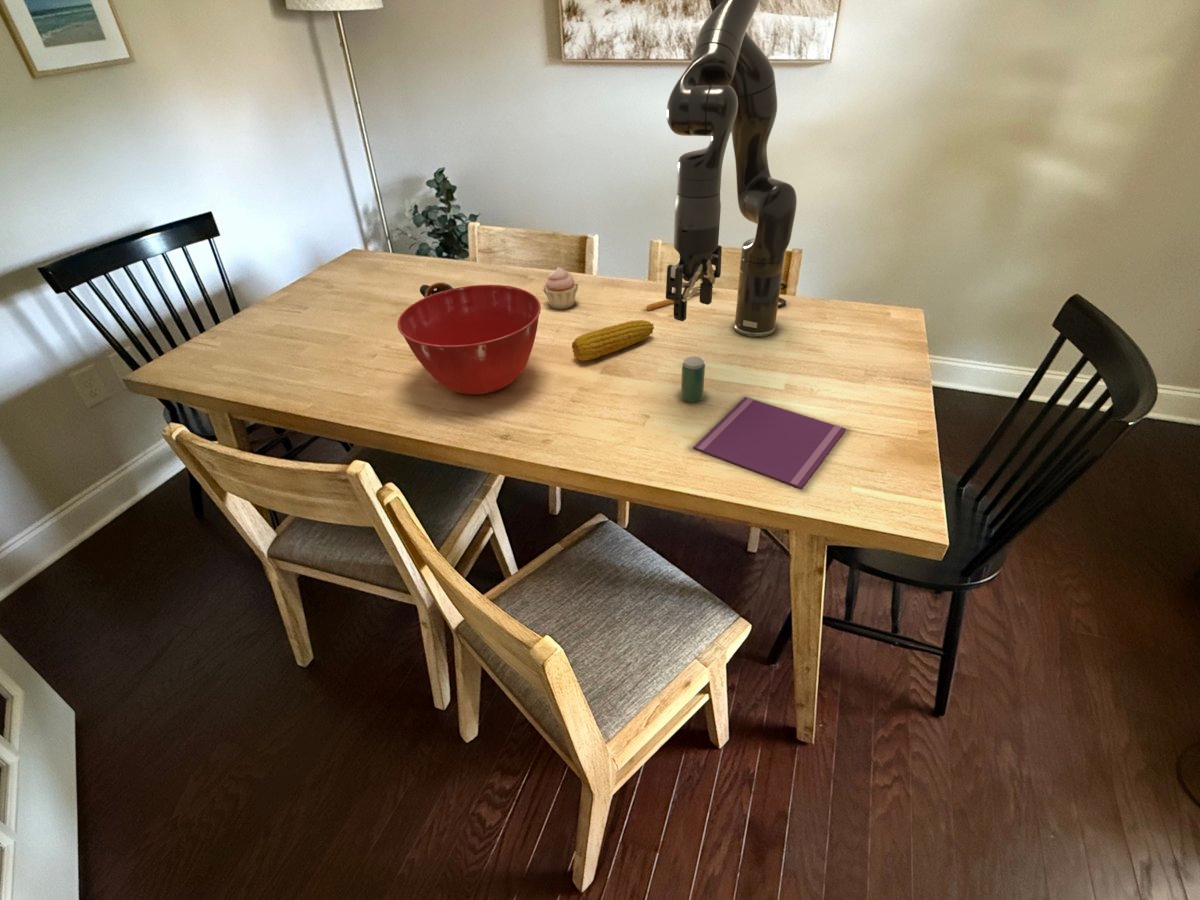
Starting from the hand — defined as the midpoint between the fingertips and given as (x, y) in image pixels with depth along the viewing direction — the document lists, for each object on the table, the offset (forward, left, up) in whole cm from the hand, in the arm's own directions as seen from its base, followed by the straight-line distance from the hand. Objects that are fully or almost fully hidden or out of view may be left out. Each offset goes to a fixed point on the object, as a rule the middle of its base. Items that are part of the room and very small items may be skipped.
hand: (692, 311), depth 116 cm
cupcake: (-21, -51, -18) cm, 58 cm away
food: (-8, -25, -18) cm, 32 cm away
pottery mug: (-2, -76, -18) cm, 78 cm away
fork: (-39, -26, -18) cm, 50 cm away
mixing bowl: (+18, -41, -18) cm, 48 cm away
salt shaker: (0, 0, -18) cm, 18 cm away
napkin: (+5, +19, -18) cm, 27 cm away
